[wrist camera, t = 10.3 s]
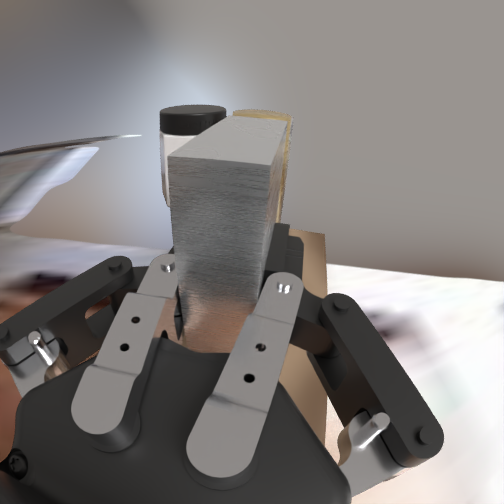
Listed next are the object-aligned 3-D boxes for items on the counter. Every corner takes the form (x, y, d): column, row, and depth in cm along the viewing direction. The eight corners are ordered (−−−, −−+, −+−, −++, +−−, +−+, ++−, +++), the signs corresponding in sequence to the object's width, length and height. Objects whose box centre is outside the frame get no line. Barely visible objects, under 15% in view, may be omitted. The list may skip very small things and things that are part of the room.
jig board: (102, 460, 12) (94, 455, 11) (214, 227, 33) (214, 217, 32) (312, 510, 11) (318, 509, 10) (322, 243, 32) (324, 234, 31)
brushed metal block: (246, 411, 13) (275, 166, 6) (195, 400, 13) (163, 155, 6) (269, 297, 20) (292, 113, 13) (231, 291, 20) (239, 108, 13)
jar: (189, 218, 34) (187, 116, 27) (149, 198, 38) (143, 111, 31) (237, 194, 40) (242, 108, 33) (196, 179, 44) (197, 102, 37)
